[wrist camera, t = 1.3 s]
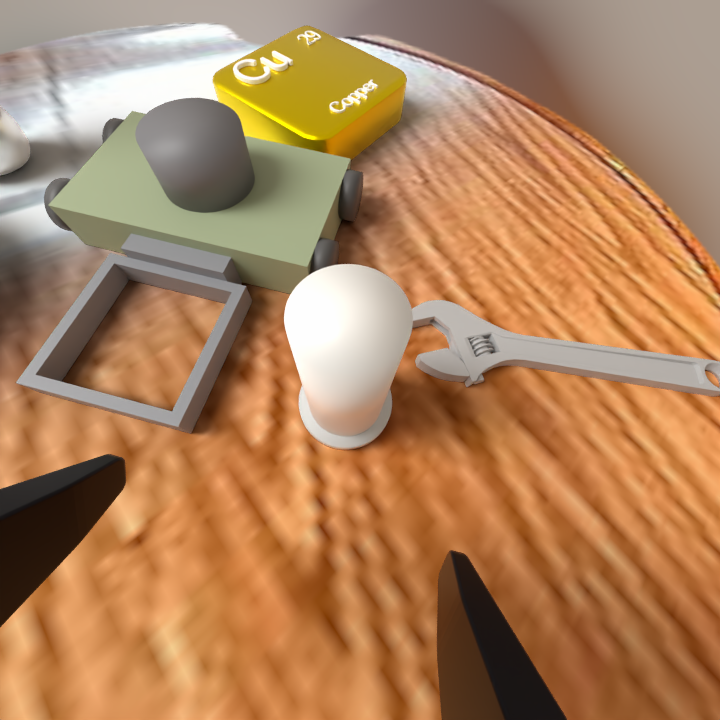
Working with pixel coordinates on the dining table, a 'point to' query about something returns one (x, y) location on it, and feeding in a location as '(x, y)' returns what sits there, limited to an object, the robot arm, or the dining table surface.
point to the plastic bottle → (12, 144)
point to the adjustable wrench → (548, 355)
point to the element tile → (313, 93)
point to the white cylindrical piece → (347, 351)
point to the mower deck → (191, 233)
